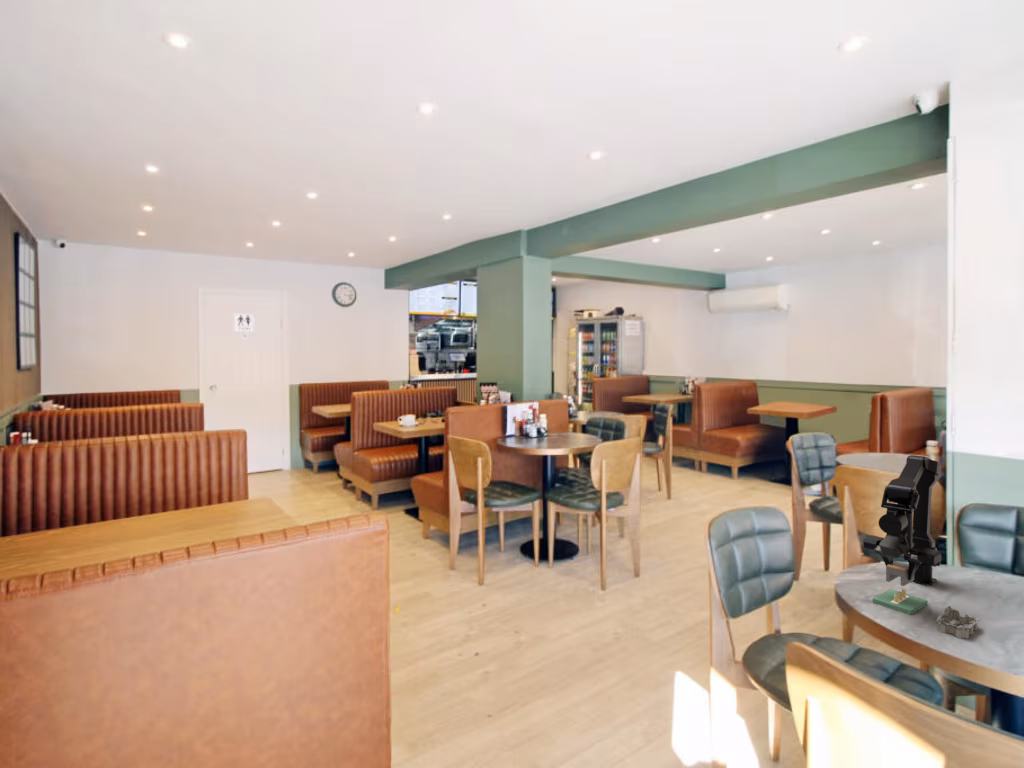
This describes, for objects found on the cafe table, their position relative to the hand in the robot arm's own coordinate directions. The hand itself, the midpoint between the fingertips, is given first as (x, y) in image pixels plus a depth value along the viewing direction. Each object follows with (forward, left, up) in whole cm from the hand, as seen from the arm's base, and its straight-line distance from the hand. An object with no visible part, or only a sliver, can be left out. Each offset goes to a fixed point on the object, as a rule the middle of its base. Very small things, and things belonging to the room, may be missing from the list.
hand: (900, 577), depth 165 cm
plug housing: (0, 0, -1) cm, 1 cm away
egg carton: (+5, +16, -8) cm, 18 cm away
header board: (0, 0, -8) cm, 8 cm away
